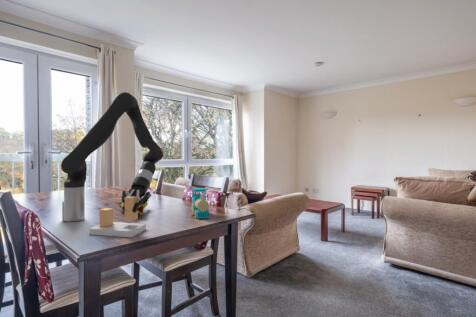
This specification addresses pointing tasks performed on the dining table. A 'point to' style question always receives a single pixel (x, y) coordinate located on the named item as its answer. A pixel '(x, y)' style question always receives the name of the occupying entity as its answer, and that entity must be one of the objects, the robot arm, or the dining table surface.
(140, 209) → the toy
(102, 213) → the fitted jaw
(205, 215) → the teal food carton
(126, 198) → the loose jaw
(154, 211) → the dining table surface
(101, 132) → the robot arm
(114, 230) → the plate
